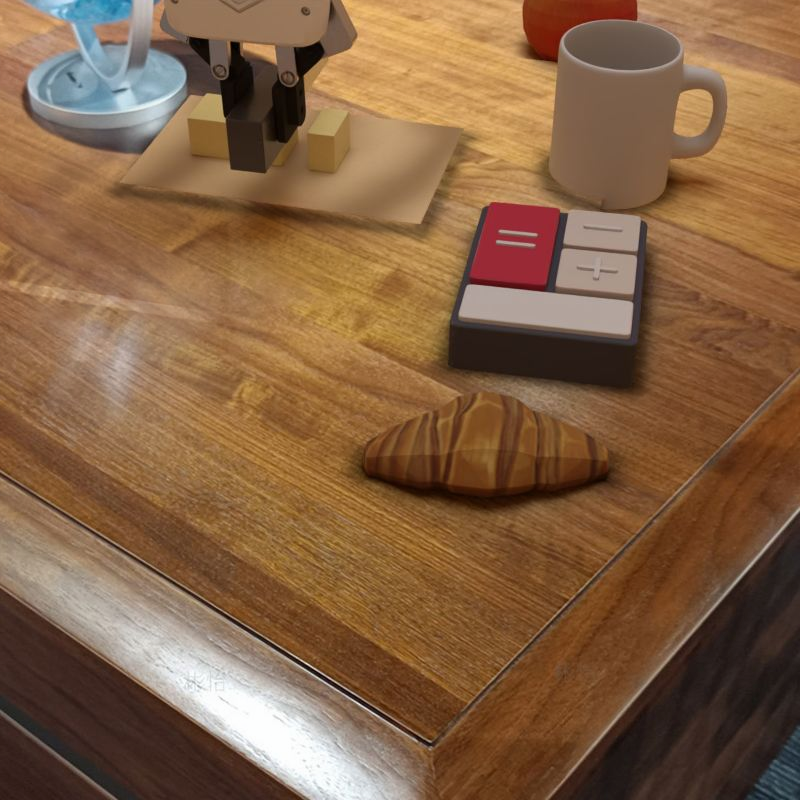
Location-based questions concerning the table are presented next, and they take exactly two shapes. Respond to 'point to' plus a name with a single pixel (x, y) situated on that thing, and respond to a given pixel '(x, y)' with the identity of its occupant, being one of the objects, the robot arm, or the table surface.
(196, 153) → the butter stick
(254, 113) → the knife
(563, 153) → the mug
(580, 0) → the fruit
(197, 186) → the butter wrapper
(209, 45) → the robot arm
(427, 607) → the table surface
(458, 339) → the calculator
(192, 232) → the table surface
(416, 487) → the croissant
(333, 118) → the butter pat
